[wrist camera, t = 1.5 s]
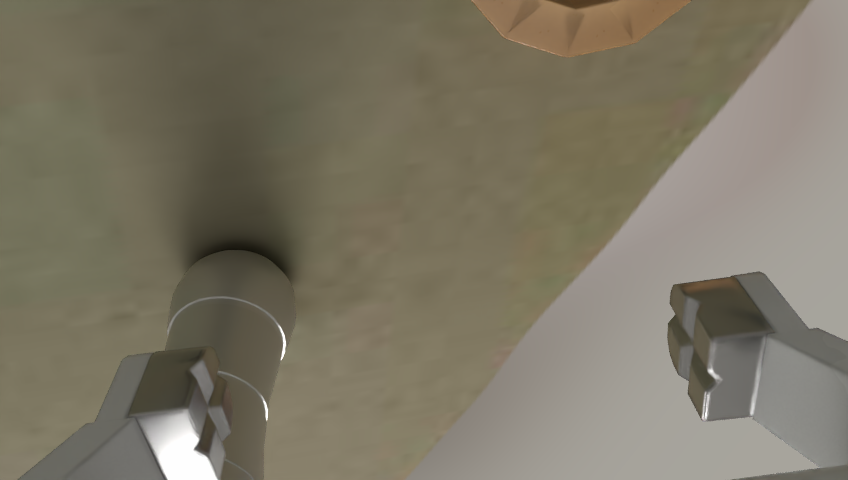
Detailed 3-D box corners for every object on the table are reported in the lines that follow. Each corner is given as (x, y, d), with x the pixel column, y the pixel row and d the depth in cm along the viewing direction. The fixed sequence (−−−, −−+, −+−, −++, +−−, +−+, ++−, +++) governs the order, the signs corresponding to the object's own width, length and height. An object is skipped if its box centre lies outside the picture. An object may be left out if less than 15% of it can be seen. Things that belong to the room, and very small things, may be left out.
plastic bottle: (310, 246, 39) (255, 629, 23) (289, 335, 43) (230, 715, 27) (187, 222, 38) (38, 609, 22) (177, 315, 42) (44, 702, 26)
